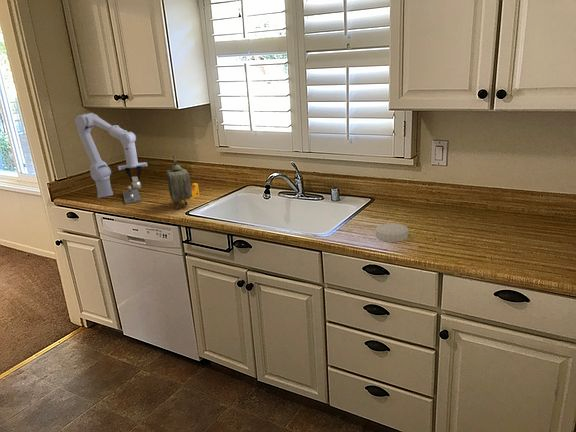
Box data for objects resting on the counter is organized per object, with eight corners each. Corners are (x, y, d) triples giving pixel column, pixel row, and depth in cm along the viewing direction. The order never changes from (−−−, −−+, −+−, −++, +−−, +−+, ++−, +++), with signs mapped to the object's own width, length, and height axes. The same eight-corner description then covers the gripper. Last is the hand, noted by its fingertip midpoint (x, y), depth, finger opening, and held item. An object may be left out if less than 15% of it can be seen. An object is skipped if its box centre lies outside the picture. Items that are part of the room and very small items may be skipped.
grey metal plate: (122, 193, 260) (121, 186, 258) (137, 190, 262) (136, 184, 261) (125, 204, 239) (123, 196, 238) (141, 201, 242) (140, 194, 240)
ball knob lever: (131, 182, 256) (130, 177, 255) (138, 181, 257) (137, 176, 256) (133, 189, 243) (132, 183, 241) (141, 188, 244) (140, 182, 243)
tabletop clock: (170, 203, 236) (163, 154, 228) (188, 200, 239) (182, 151, 231) (175, 211, 223) (167, 159, 215) (194, 207, 226) (187, 156, 218)
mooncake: (405, 243, 170) (405, 234, 169) (372, 240, 175) (372, 231, 174) (410, 231, 181) (410, 223, 179) (379, 229, 185) (379, 220, 184)
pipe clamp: (193, 194, 248) (192, 182, 246) (199, 195, 245) (198, 183, 243) (176, 201, 239) (174, 188, 237) (182, 202, 236) (180, 189, 234)
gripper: (116, 159, 239) (121, 185, 243) (146, 155, 243) (150, 180, 248) (116, 156, 245) (120, 182, 249) (144, 153, 250) (148, 178, 254)
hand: (135, 181), depth 249 cm, fingers closed on ball knob lever, 3 cm apart
